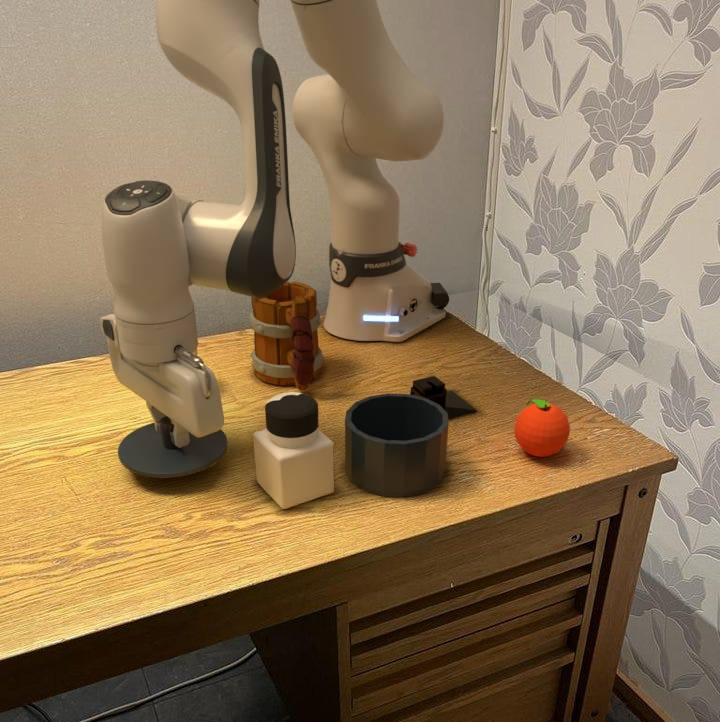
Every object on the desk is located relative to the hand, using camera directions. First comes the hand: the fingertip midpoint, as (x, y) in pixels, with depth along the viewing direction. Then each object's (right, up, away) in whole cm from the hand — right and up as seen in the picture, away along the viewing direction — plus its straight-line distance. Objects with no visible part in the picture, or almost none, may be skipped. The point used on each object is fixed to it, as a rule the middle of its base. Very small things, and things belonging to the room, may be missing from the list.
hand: (172, 438), depth 99 cm
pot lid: (0, -1, +1) cm, 2 cm away
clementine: (+46, -2, +6) cm, 47 cm away
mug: (+13, +10, +23) cm, 28 cm away
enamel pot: (+28, -4, +2) cm, 28 cm away
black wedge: (+33, +4, +14) cm, 36 cm away
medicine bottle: (+15, -6, -2) cm, 17 cm away
